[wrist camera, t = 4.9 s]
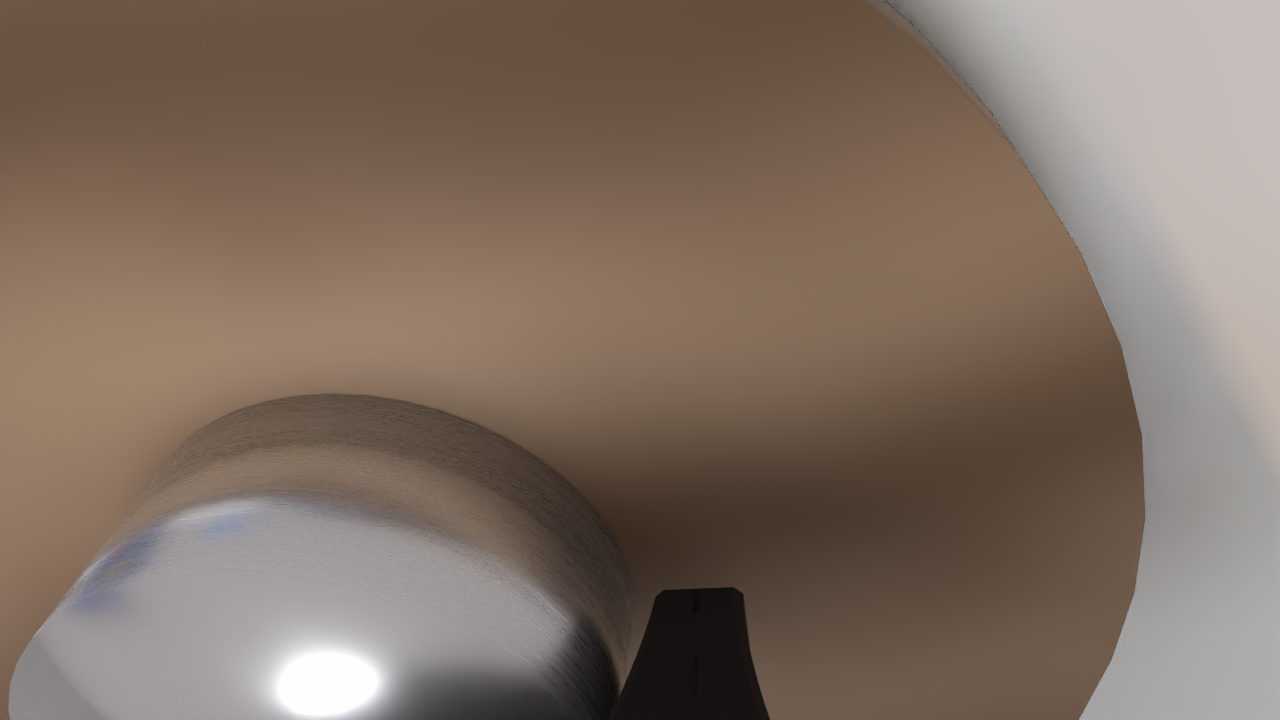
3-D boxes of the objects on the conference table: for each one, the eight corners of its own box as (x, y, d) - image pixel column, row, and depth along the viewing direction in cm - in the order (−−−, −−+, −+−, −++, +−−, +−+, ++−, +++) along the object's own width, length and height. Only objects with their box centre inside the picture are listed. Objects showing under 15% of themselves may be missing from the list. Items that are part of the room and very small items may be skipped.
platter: (1243, 755, 17) (1387, 1054, 13) (316, 953, 23) (236, 1190, 19) (730, -760, 8) (726, -1192, 4) (-568, 259, 14) (-1034, 458, 10)
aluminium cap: (716, 691, 15) (713, 895, 12) (335, 786, 17) (265, 976, 14) (467, 316, 11) (393, 488, 9) (34, 492, 14) (-125, 671, 11)
